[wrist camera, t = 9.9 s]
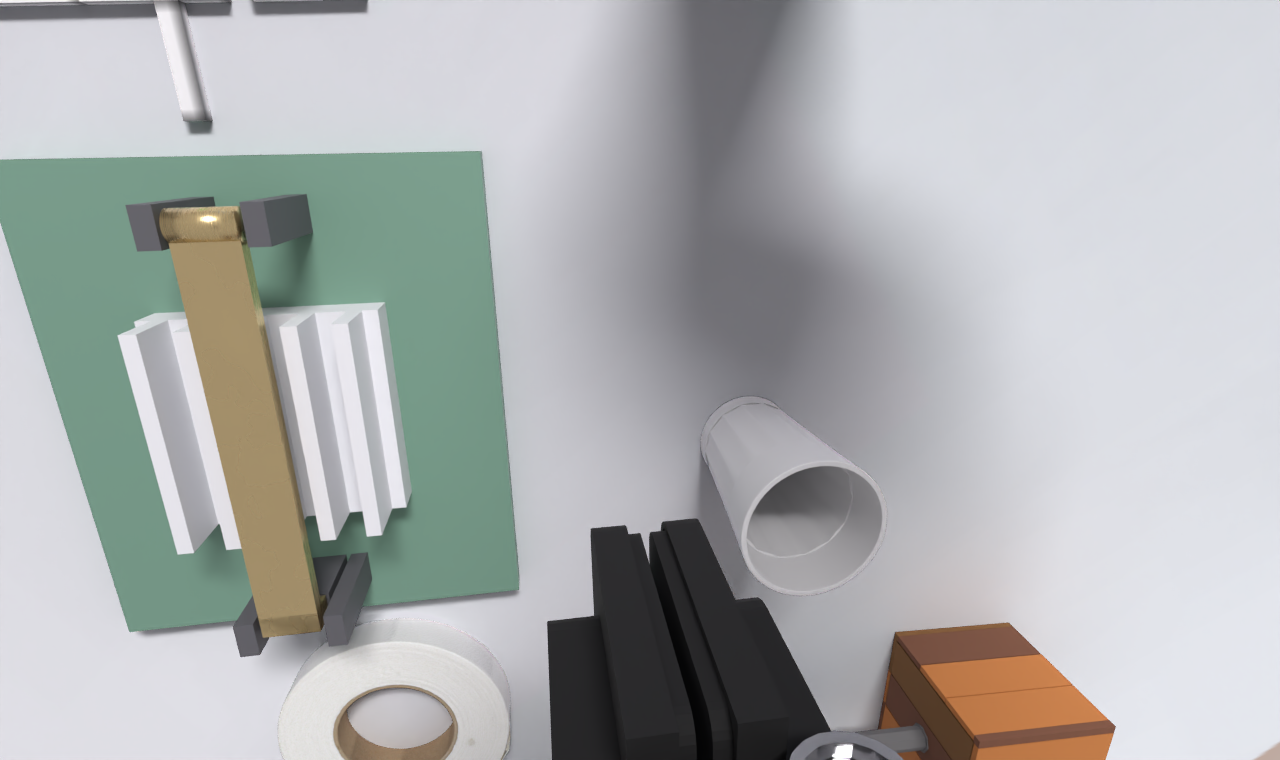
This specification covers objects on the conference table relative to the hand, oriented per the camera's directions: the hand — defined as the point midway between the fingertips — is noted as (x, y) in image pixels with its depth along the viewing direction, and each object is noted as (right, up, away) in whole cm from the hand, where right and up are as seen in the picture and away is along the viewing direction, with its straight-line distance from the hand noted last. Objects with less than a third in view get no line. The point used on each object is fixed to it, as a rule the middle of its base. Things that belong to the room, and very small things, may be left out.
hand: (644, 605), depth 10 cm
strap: (-20, +1, +24) cm, 31 cm away
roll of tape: (-17, -20, +39) cm, 47 cm away
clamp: (+20, -22, +45) cm, 54 cm away
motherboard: (-21, +2, +30) cm, 36 cm away
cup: (+7, -1, +36) cm, 36 cm away
